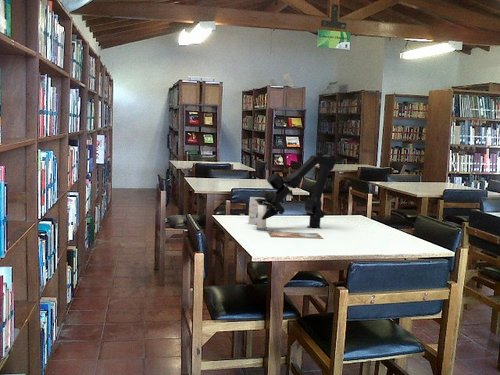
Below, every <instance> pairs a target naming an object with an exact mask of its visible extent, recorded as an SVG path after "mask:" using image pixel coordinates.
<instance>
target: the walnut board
mask: <svg viewBox="0 0 500 375" xmlns="http://www.w3.org/2000/svg"><path fill="white" fill-rule="evenodd" d="M274 232H275V231H267V233H268V235H269V237H270V238H284V239H287V238H289V239H314V240H315V239H317V240H324V237H322V236H321V235H320V234H319V233H318V232H317V233H316V232H312V233H313V234H317V235H318V237H314V238H310V237H302V236H299V234H300V233H301V232H291V231H289V232H286V231H285V233H290V234H291V236H288V237H280V236H274V235H272V233H274Z"/></svg>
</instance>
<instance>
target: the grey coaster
mask: <svg viewBox="0 0 500 375" xmlns="http://www.w3.org/2000/svg"><path fill="white" fill-rule="evenodd" d="M299 233H300V234H299V236H302V237H310V238H314V237H318V235H317V234H313V233H314V232H299ZM310 238H309V239H310Z"/></svg>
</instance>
